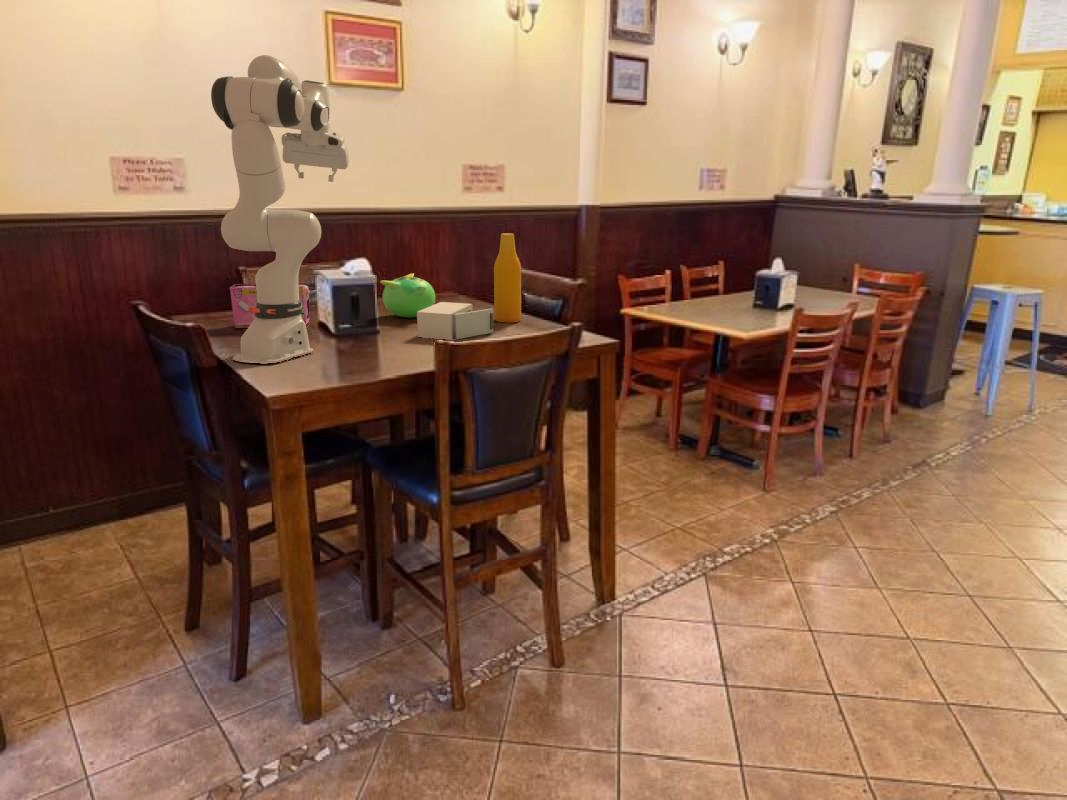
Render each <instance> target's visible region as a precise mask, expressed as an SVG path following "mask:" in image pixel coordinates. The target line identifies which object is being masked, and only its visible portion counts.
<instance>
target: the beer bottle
mask: <svg viewBox="0 0 1067 800" xmlns="http://www.w3.org/2000/svg"><path fill="white" fill-rule="evenodd" d="M515 241H516V240H515V234H514V233H501V234H500V241H499V242H500V243H499V250H498V254H497V257H496V259H495V262H494V266H493V286H494V287H493V295H494V297H493V299H494V300H493V306H494V308H493V319H494V321H496V322H497V321H498V322H497V323H501V322H504V324H512V323H518V322H520V321H521V320H522V265H521V262H520V259H519V257H518V255H517V251H516V244H515Z"/></svg>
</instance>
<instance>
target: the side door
mask: <svg viewBox="0 0 1067 800" xmlns="http://www.w3.org/2000/svg"><path fill="white" fill-rule="evenodd" d="M494 321H495V320H494V308H486V309H479V310H473V311H472V312H465V313H459V314H452V340H454V341H455V340H459V339H465V338H470V337H476V336H481V335H482V336H483V335H487V334H493V333H494V324H495V323H494Z"/></svg>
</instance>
